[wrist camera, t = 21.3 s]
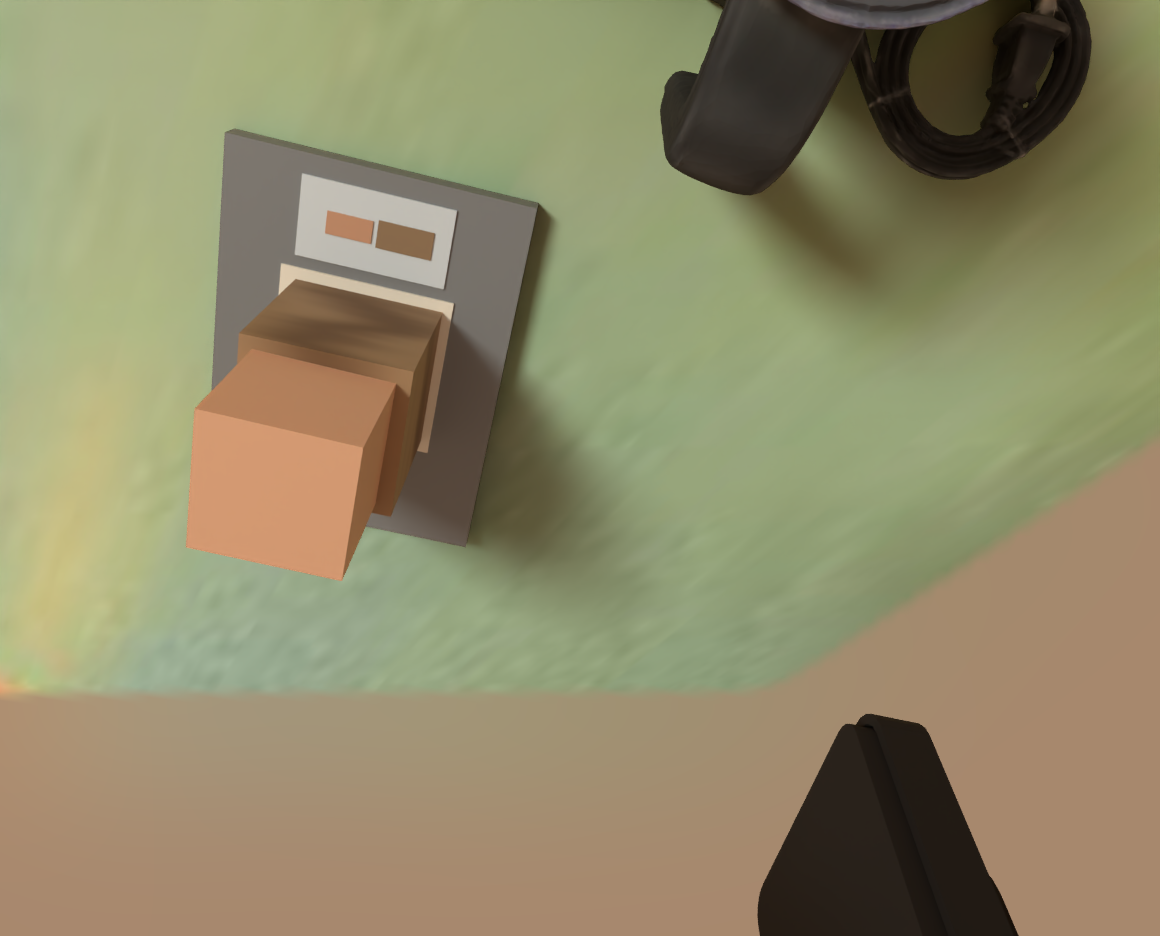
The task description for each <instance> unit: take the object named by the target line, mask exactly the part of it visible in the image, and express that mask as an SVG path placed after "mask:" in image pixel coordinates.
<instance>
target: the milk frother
mask: <svg viewBox="0 0 1160 936" xmlns="http://www.w3.org/2000/svg"><path fill="white" fill-rule="evenodd" d="M713 1H714V2H716V3H718V4H720V5H721V6H723V7H724V9H723V11H722V14H721V16H720V19H719V22H718V25H717V28H716V30H715V33H714V36H713V37H712V38H711V42H710V45H709V48H708V51H707V54H706V56H705V59H704V61H703V63H702V65H701V68H700V71H699V74H696V73H691V72H686V71H679V72H675V73H674V74H673V75H672V76H671V77H670V78H669V80H668V81H667V83H666V85H665V93H664V96H663V99H662V103H661V109H660V116H661V124H662V134H663V141H664V150H665V156H666V159H667V160H668V162H669V164H670V165H671V166H672V167H673V168H675V169H677V170H678V171H680V172H681V173H683V174H685V175H687V176H689V177H691V178H693V179H696V180H698V181H701V182H703V183H705V184H708V185H710V186H713V187H716V188H719V189H721V190H725V191H728V192H732V193H736V194H742V195H753V194H757V193H760V192H762V191H763V190H765V189H766V188H767V187H769V186H770V185H771V184H772V183H773V182H775V181H776V180H777V179H778V178H779V177H780V176H781V175H782V174H783V173H784V171H785V170H786V169H787V168H788V167H789V165H790V164H791V163H792V161H793V160H794V159H795V157H796V156H797V154H798V153H799V152H800V150H801V149H802V147H803V146H804V144H805V142H806V141H807V139H808V138H809V136H810V134H811V133H812V131H813V129H814V128H815V126H816V124H817V123H818V121H819V119H820V118H821V116H822V114H823V112H824V110H825V108H826V106H827V104H828V102H829V100H830V99H831V97H832V95H833V93H834V91H835V89H836V87H837V85H838V83H839V81H840V79H841V77H842V75H843V73H844V71H845V69H846V67H847V65H848V63H849V61H850V59H851V61H852V63H853V66H854V69H855V72H856V74H857V78H858V81H859V84H860V86H861V89H862V92H863V95H864V97H865V100H866V103H867V105H868V107H869V110H870V112H871V114H872V117H873V119H874V121H875V123H876V125H877V128H878V130H879V131H880V133H881V135H882V137H883V139H884V141H885V143H886V144H887V146H888V147H889V148H890V150H891V151H892V152H893V153H894V154H895V155H896V156H897V157H898V158H900V159H901V160H902V161H903V162H904V163H906V164H907V165H908V166H910V167H911V168H913V169H915V170H916V171H918V172H920V173H923V174H925V175H928V176H932V177H935V178H940V179H949V180H961V179H969V178H974V177H977V176H980V175H982V174H985V173H988V172H991V171H993V170H996V169H998V168H1000V167H1002V166H1004V165H1006V164H1008V163H1010V162H1012V161H1013V160H1016V159H1018V158H1021V157H1024V156H1025V155H1026V154H1027V153H1028V152H1029V151H1030V150H1031V149H1032V148H1034V147H1035V146H1036V145H1037V144H1039V143H1040V142H1041V141H1042V140H1043V139H1045V138H1046V137H1047V136H1048V135H1049V134H1050V133H1051V132H1052V131H1053V130H1054V129H1055V128H1056V127H1057V126H1058V125H1059V124H1060V123H1061V122H1062V121H1063V120H1064V118H1065V117H1066V116H1067V114H1068V112H1069V111H1070V110H1071V108H1072V107H1073V105H1074V104H1075V102H1076V100H1077V98H1078V96H1079V95H1080V92H1081V90H1082V87H1083V85H1084V82H1085V79H1086V76H1087V72H1088V68H1089V61H1090V54H1091V35H1090V27H1089V23H1088V21H1087V19H1086V13H1085V10H1084V8H1083V6H1082V4H1081V2H1080V0H1030V2H1031V10H1032V13H1025V12H1022V13H1019V14H1018V15H1016V16H1014V17H1013V18H1012V20H1011V21H1009V22H1008V23H1007V24H1005V25H1004V26H1003V27H1001V28H1000V29H999V30H998V31H997V32H996V33H995V36H994V38H993V43H994V44H995V45H997V46H998V51H997V55H996V58H995V61H994V66H993V73H992V85H991V87H990V88H989V89H987V91H986V94H985V96H986V97H987V99H988V100H989V101H990V106H989V108H988V110H987V112H986V115H985V117H984V118H983V120H982V121H981V124H980V125H981V129H980V130H979V131H977V132H976V133H974V134H972V135H962V136H955V135H949V134H947V133H944V132H942V131H940V130H938V129H937V128H935V127H934V126H932V125H931V124H930V123H929V122H928V121H927V120H926V119H925V118H924V117H923V115H922V114H921V113H920V111H919V110H918V109H917V107H916V104H915V102H914V100H913V97H912V95H911V91H910V85H909V76H908V73H909V63H910V58H911V55H912V52H913V49H914V47H915V45H916V43H917V40H918V38H919V37H920V35H921V33H922V32H923V30H924V29H925V28H926V26H927V25H929V24H933V23H937V22H940V21H943V20H946V19H949V18H951V17H954V16H956V15H958V14H960V13H963V12H965V11H967V10H969V9H971V8H973V7H976V6H978V5H981V4H983V3H985V2H987V1H988V0H713ZM865 29H886V31H885V33H884V34H883V36H882V39H881V42H880V44H879V47H878V52H877V57H876V60H875V63H874V62H873V61H872V58H871V54H870V50H869V46H868V42H867V37H866V33H865ZM1052 51H1053V52H1054V59H1053V63H1052V67H1051V69H1050V72H1049V74H1048V76H1047V78H1046V80H1045V82H1044V84H1043V86H1042V87H1041V89H1040V91H1039V93H1038V95H1037V90H1036V82H1037V81H1038V79H1039V77H1040V76H1041V74H1042V72H1043V71H1044V69H1045V67H1046V65H1047V63H1048V61H1049V58H1050V56H1051V54H1052ZM1036 95H1037V97H1036ZM1035 98H1036V99H1035ZM1033 99H1035V100H1033ZM1026 102H1028V104H1029V105H1028V107H1027V108H1025V109H1024V108H1023V104H1024V103H1026Z"/></svg>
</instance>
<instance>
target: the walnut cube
mask: <svg viewBox="0 0 1160 936" xmlns="http://www.w3.org/2000/svg"><path fill="white" fill-rule="evenodd" d="M442 313H443V312H438V311H434V310H430V309H425V308H421V307H417V306H412V305H408V304H403V303H399V302H395V301H390V300H386V299H382V298H377V297H373V296H368V295H364V294H360V293H355V292H351V291H346V290H342V289H338V288H333V287H329V286H325V285H320V284H316V283H311V282H307V281H303V280H298V279H295V280H294V281H293V282H292V283H291V284H290V285H289V286H288V287H287V288H285V289H284V290H283V291H282V292H281V293H280V294H279V295H278V296H277V297H276V298H275V299H274V300H273V301H272V302H271V303H270V304H269V305H268V306H267V307H266V308H265V309H264V310H263V311H262V312H260V313H259V314H258V315H257V316H256V317H255V318H254V319H253V320H252V321H251V322H250V323H249V324H248V325H247V326H246V327H245V328H244V329H243V330H242V331H241V332H240V333H239V341H238V357H237V364H238V363H239V362H240V361H241V360H242V359H243V358H244V357H245V356H246V355H247V354H248V353H249V352H250V350H251V349H254V350H259V351H263V352H267V353H271V354H275V355H279V356H284V357H288V358H292V359H296V360H300V361H304V362H309V363H313V364H317V365H321V366H325V367H330V368H334V369H338V370H342V371H346V372H350V373H355V374H359V375H363V376H367V377H371V378H375V379H380V380H384V381H388V382H392V383H396V388H395V394H394V400H393V405H392V411H391V417H390V423H389V429H388V434H387V440H386V446H385V452H384V457H383V463H382V469H381V475H380V480H379V486H378V492H377V498H376V504H375V506H374V508H373V511H372V513H375V514H379V515H384V516H389V517H391V515H392V513H393V510H394V508H395V505H396V503H397V500H398V497H399V495H400V492H401V490H402V487H403V485H404V482H405V480H406V477H407V475H408V472H409V470H410V467H411V465H412V462H413V460H414V457H415V455H416V452H417V449H418V447H419V444H420V442H421V438H422V432H423V426H424V420H425V414H426V408H427V402H428V396H429V390H430V384H431V378H432V372H433V367H434V361H435V355H436V349H437V343H438V337H439V331H440V325H441V319H442Z"/></svg>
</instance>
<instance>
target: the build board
mask: <svg viewBox="0 0 1160 936" xmlns="http://www.w3.org/2000/svg"><path fill="white" fill-rule="evenodd" d="M538 204H539V203H536V202H532V201H528V200H524V199H520V198H515V197H511V196H507V195H503V194H499V193H495V192H491V191H487V190H483V189H479V188H475V187H471V186H466V185H462V184H458V183H454V182H450V181H446V180H442V179H438V178H434V177H430V176H426V175H422V174H417V173H413V172H409V171H405V170H401V169H397V168H393V167H389V166H385V165H381V164H377V163H373V162H368V161H364V160H360V159H356V158H352V157H348V156H344V155H340V154H336V153H332V152H328V151H324V150H319V149H315V148H311V147H307V146H303V145H299V144H295V143H291V142H287V141H283V140H279V139H275V138H270V137H266V136H262V135H258V134H254V133H250V132H246V131H242V130H238V129H232V130H230V131H227V132H225V139H224V159H223V178H222V198H221V217H220V237H219V256H218V276H217V295H216V315H215V334H214V353H213V373H212V390H213V389H214V388H215V387H216V386H217V385H218V384H219V383H220V382H221V381H222V380H223V379H224V378H225V376H226V375H227V374H228V373H229V372H230V371H231V370H232V369H233V368H234V367H235V366H236V365H237V357H238V341H239V333H240V332H241V331H242V330H243V329H244V328H245V327H246V326H247V325H248V324H249V323H250V322H251V321H252V320H253V319H254V318H255V317H256V316H257V315H258V314H259V313H260V312H262V311H263V310H264V309H265V308H266V307H267V306H268V305H269V304H270V303H271V302H272V301H273V300H274V299H275V298H276V297H277V296H278V295H279V294H280V293H281V292H282V291H283V290H284V289H285V288H287V287H288V286H289V285H290V284H291V283H292V282H293V281H294V280H295V279H298V280H303V281H307V282H311V283H316V284H320V285H325V286H329V287H333V288H338V289H342V290H346V291H351V292H355V293H360V294H364V295H368V296H373V297H377V298H382V299H386V300H390V301H395V302H399V303H403V304H408V305H412V306H417V307H421V308H425V309H430V310H434V311H438V312H443V313H442V319H441V325H440V331H439V337H438V343H437V349H436V355H435V361H434V367H433V372H432V378H431V384H430V390H429V396H428V402H427V408H426V414H425V420H424V426H423V432H422V438H421V442H420V444H419V447H418V449H417V452H416V455H415V457H414V460H413V462H412V465H411V467H410V470H409V472H408V475H407V477H406V480H405V482H404V485H403V487H402V490H401V492H400V495H399V497H398V500H397V503H396V505H395V508H394V510H393V513H392V515H391V517H389V516H384V515H379V514H375V513H371V515H370V517H369V520H368V522H367V524H366V526H367V527H372V528H377V529H382V530H386V531H391V532H396V533H401V534H406V535H410V536H415V537H420V538H425V539H430V540H434V541H439V542H444V543H449V544H454V545H458V546H463V547H466V543H467V539H468V535H469V530H470V525H471V521H472V516H473V511H474V506H475V502H476V497H477V492H478V488H479V483H480V478H481V473H482V469H483V464H484V459H485V455H486V450H487V445H488V440H489V436H490V431H491V426H492V421H493V417H494V412H495V407H496V403H497V398H498V393H499V388H500V384H501V379H502V374H503V369H504V365H505V360H506V355H507V351H508V346H509V341H510V336H511V332H512V327H513V322H514V317H515V313H516V308H517V303H518V299H519V294H520V289H521V284H522V280H523V275H524V270H525V266H526V261H527V256H528V251H529V247H530V242H531V237H532V232H533V228H534V223H535V218H536V214H537V209H538Z"/></svg>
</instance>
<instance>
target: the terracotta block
mask: <svg viewBox="0 0 1160 936" xmlns="http://www.w3.org/2000/svg"><path fill="white" fill-rule="evenodd" d="M395 388H396V383H392V382H388V381H384V380H380V379H375V378H371V377H367V376H363V375H359V374H355V373H350V372H346V371H342V370H338V369H334V368H330V367H325V366H321V365H317V364H313V363H309V362H304V361H300V360H296V359H292V358H288V357H284V356H279V355H275V354H271V353H267V352H263V351H259V350H254V349H251V350H250V352H249V353H248V354H247V355H246V356H245V357H244V358H243V359H242V360H241V361H240V362H239V363H238V364H237V365H236V366H235V367H234V368H233V369H232V370H231V371H230V372H229V373H228V374H227V375H226V376H225V378H224V379H223V380H222V381H221V382H220V383H219V384H218V385H217V386H216V387H215V388H214V389H213V390H212V391H211V392H210V393H209V394H208V395H207V396H206V397H205V398H204V399H203V400H202V401H201V403H200V404H199V405H198V406H197V407H196V408H195V411H194V427H193V443H192V459H191V475H190V491H189V508H188V524H187V540H186V547H187V548H192V549H197V550H201V551H206V552H211V553H215V554H220V555H224V556H229V557H234V558H238V559H243V560H247V561H252V562H257V563H261V564H266V565H270V566H275V567H280V568H284V569H289V570H293V571H298V572H303V573H307V574H312V575H316V576H321V577H326V578H330V579H335V580H340V581H342V579H343V577H344V575H345V573H346V570H347V568H348V566H349V563H350V561H351V559H352V556H353V554H354V552H355V550H356V547H357V545H358V543H359V540H360V538H361V536H362V534H363V531H364V529H365V527H366V524H367V522H368V520H369V517H370V515H371V513H372V511H373V508H374V506H375V504H376V498H377V492H378V486H379V480H380V475H381V469H382V463H383V457H384V452H385V446H386V440H387V434H388V429H389V423H390V417H391V411H392V405H393V400H394V394H395Z"/></svg>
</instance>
